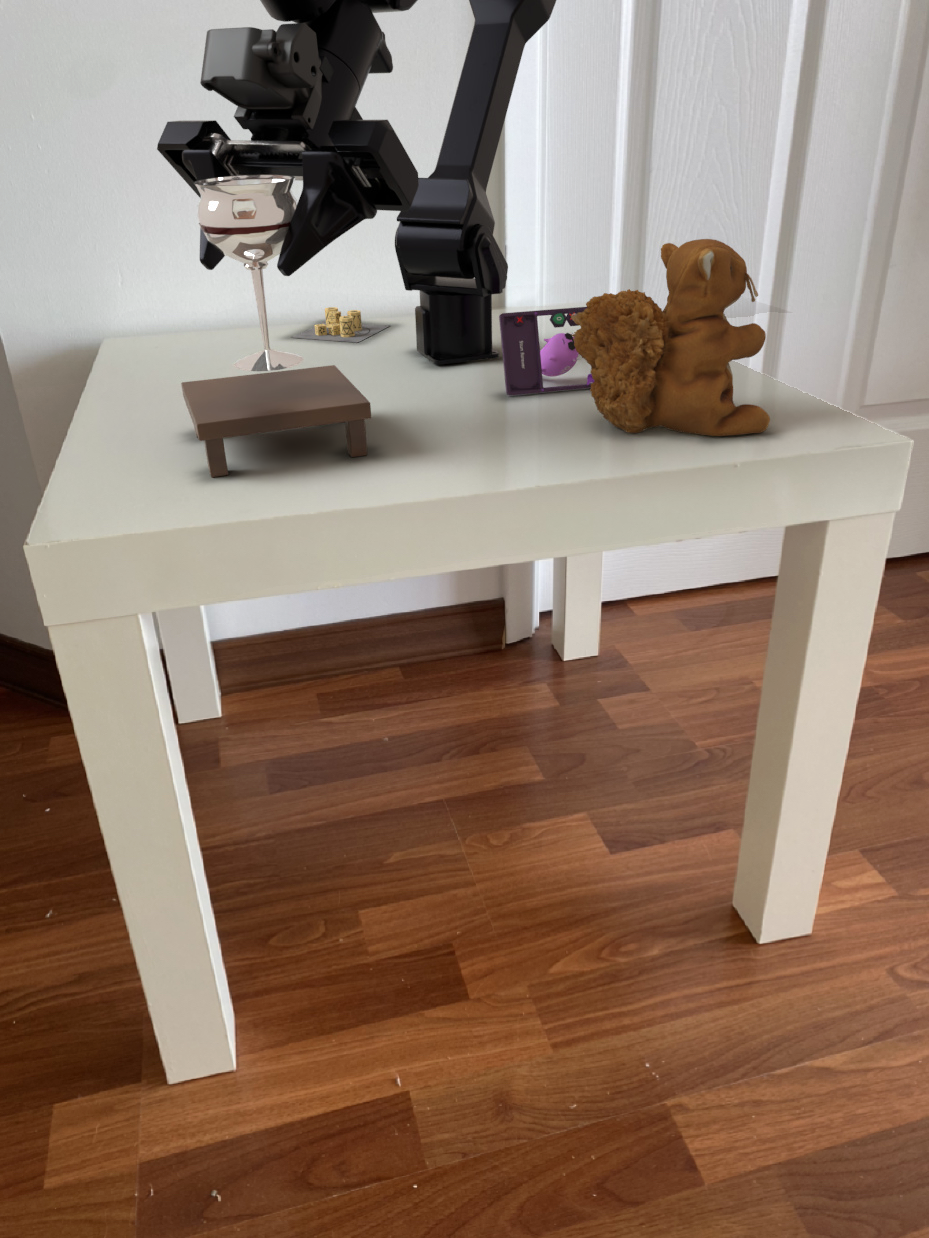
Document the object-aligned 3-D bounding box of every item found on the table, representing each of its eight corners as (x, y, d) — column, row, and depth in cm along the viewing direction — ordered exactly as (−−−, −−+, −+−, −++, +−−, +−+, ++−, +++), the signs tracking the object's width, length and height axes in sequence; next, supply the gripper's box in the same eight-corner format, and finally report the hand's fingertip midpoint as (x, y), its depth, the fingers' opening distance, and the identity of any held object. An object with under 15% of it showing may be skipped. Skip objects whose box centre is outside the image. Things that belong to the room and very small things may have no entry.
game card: (502, 312, 79) (604, 304, 81) (486, 321, 84) (583, 313, 86) (510, 395, 80) (610, 385, 82) (494, 399, 85) (589, 389, 87)
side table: (339, 413, 78) (334, 364, 76) (374, 456, 69) (370, 402, 67) (189, 432, 75) (180, 382, 73) (205, 480, 66) (196, 424, 64)
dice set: (330, 324, 106) (328, 306, 106) (371, 327, 105) (370, 309, 104) (307, 335, 102) (305, 316, 101) (350, 338, 101) (348, 319, 100)
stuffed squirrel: (779, 433, 71) (806, 246, 65) (599, 451, 69) (609, 259, 62) (720, 396, 80) (739, 227, 73) (559, 410, 77) (563, 237, 71)
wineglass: (334, 359, 69) (317, 177, 63) (257, 380, 65) (230, 188, 59) (279, 344, 73) (257, 172, 67) (202, 363, 69) (172, 182, 63)
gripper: (149, -14, 64) (59, 183, 61) (383, -34, 56) (292, 191, 54) (242, 112, 74) (168, 287, 71) (453, 110, 66) (378, 306, 63)
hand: (242, 269), depth 65 cm, fingers closed on wineglass, 6 cm apart
